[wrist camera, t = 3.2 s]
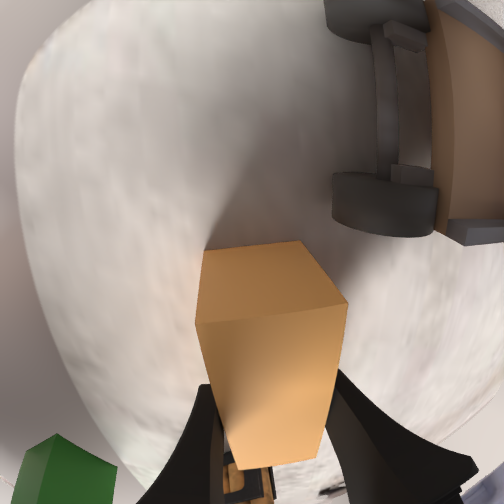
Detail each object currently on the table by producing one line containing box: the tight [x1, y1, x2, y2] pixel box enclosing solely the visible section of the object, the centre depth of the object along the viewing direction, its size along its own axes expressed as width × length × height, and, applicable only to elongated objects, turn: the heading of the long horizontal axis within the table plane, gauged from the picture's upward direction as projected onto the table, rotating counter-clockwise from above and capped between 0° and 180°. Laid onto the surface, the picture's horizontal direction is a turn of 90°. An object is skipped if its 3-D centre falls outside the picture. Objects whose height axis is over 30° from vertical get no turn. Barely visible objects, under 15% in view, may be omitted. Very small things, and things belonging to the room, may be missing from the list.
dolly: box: [324, 0, 504, 246], centre depth 7 cm, size 17×9×6 cm, turn 92°
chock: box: [195, 240, 348, 470], centre depth 11 cm, size 4×10×5 cm, turn 4°
